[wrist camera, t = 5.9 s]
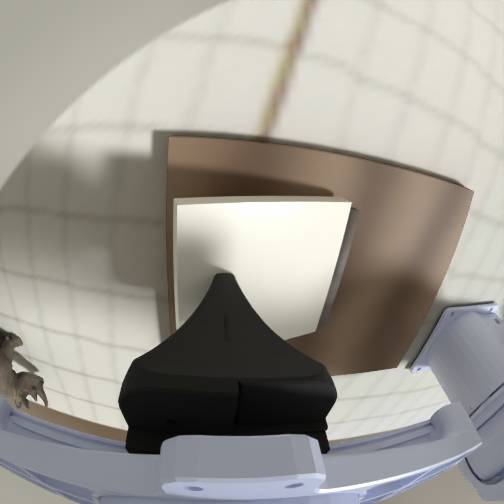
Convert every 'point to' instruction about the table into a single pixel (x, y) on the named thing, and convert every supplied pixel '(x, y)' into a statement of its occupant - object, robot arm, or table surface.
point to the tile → (260, 254)
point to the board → (354, 241)
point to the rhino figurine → (17, 376)
